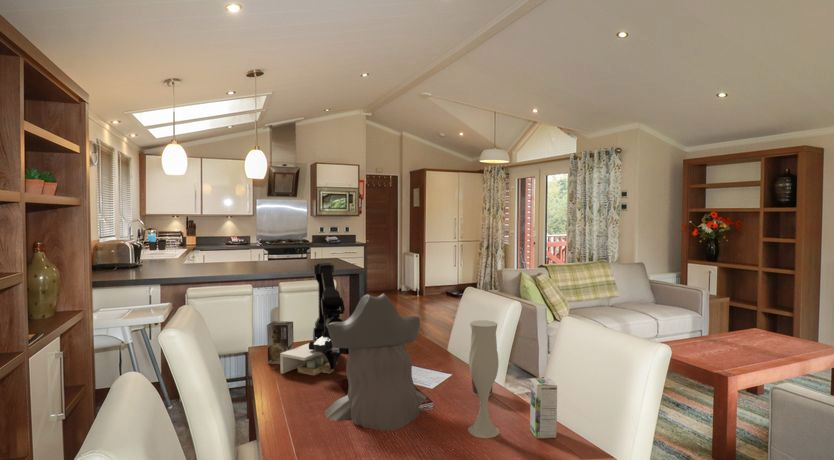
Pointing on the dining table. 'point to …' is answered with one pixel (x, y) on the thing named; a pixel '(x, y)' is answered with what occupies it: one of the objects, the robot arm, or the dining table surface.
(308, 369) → the beige flat piece
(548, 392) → the syrup box
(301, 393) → the dining table surface
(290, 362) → the cream flanged slab
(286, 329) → the coffee box
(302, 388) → the dining table surface
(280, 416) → the dining table surface
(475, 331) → the vase
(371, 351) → the grey sculpted piece
